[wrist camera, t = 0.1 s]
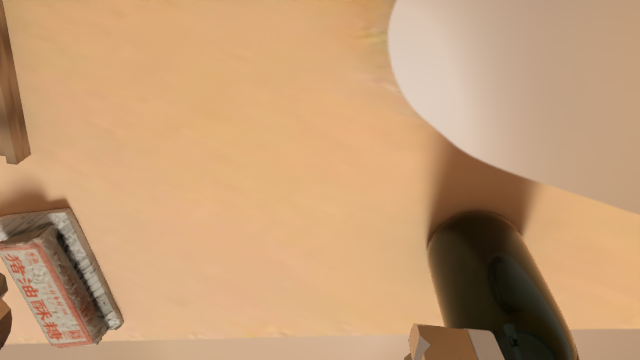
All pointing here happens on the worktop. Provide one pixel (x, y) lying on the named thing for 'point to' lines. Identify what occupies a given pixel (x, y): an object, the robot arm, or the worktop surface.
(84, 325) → the packaged product
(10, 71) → the track
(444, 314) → the beer bottle
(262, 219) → the worktop surface
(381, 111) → the worktop surface
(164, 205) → the worktop surface
